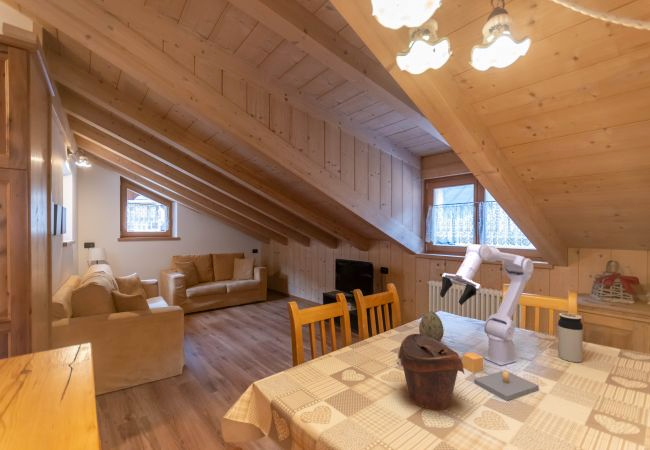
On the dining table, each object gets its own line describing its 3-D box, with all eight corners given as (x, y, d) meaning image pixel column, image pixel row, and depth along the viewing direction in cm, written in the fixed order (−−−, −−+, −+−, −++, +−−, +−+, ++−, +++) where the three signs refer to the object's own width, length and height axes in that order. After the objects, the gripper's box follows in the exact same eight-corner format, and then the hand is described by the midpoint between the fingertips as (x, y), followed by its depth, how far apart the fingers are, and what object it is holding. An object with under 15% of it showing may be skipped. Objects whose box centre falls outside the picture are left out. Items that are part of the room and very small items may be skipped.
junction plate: (504, 374, 115) (504, 360, 115) (538, 390, 104) (538, 375, 104) (474, 383, 108) (474, 368, 108) (507, 401, 97) (507, 385, 97)
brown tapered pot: (459, 424, 85) (459, 358, 85) (389, 402, 96) (390, 344, 96) (468, 395, 100) (468, 339, 101) (407, 379, 111) (407, 329, 111)
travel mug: (561, 360, 127) (561, 316, 127) (555, 353, 134) (555, 311, 134) (585, 364, 124) (586, 319, 124) (578, 356, 131) (578, 313, 131)
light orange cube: (471, 365, 122) (471, 352, 122) (483, 370, 118) (483, 357, 118) (462, 367, 120) (462, 354, 120) (473, 372, 116) (473, 359, 116)
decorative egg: (416, 345, 142) (416, 312, 142) (422, 338, 152) (422, 307, 152) (440, 350, 137) (441, 316, 137) (445, 342, 146) (445, 310, 146)
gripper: (446, 259, 122) (429, 287, 118) (483, 270, 111) (466, 301, 107) (452, 269, 126) (436, 296, 122) (488, 280, 115) (471, 311, 111)
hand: (450, 299), depth 115 cm, fingers open, 7 cm apart
